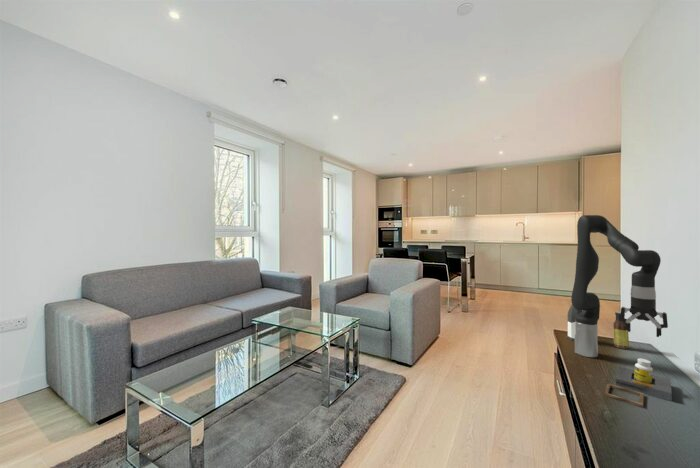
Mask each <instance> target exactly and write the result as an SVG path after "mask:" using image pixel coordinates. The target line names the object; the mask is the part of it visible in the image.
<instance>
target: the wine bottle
mask: <svg viewBox="0 0 700 468" xmlns="http://www.w3.org/2000/svg"><path fill="white" fill-rule="evenodd" d="M582 311H583V310H577V309H575V308H574V307H573V305H572V304H571V306H569V309H568V310H567V339H569V340H570V341H573V342H575V335H576V330H575V317H576V315H578V314H580V313H581V312H582Z"/></svg>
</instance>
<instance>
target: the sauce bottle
mask: <svg viewBox="0 0 700 468" xmlns="http://www.w3.org/2000/svg"><path fill="white" fill-rule="evenodd" d="M620 314H621V311H615V313H614V315H615V321H613V323H612V324H613V325H612V326H613V328H612V329H613V333H612V334H613V346H614V347H616V348H617V349H622V350H628V349H629V346H630V341H629V339H630V338H629V332H628V330H626V323H625V322H624V321H621V320H620ZM625 317H626V315H625V316H624V318H625ZM625 319H626V318H625Z"/></svg>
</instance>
